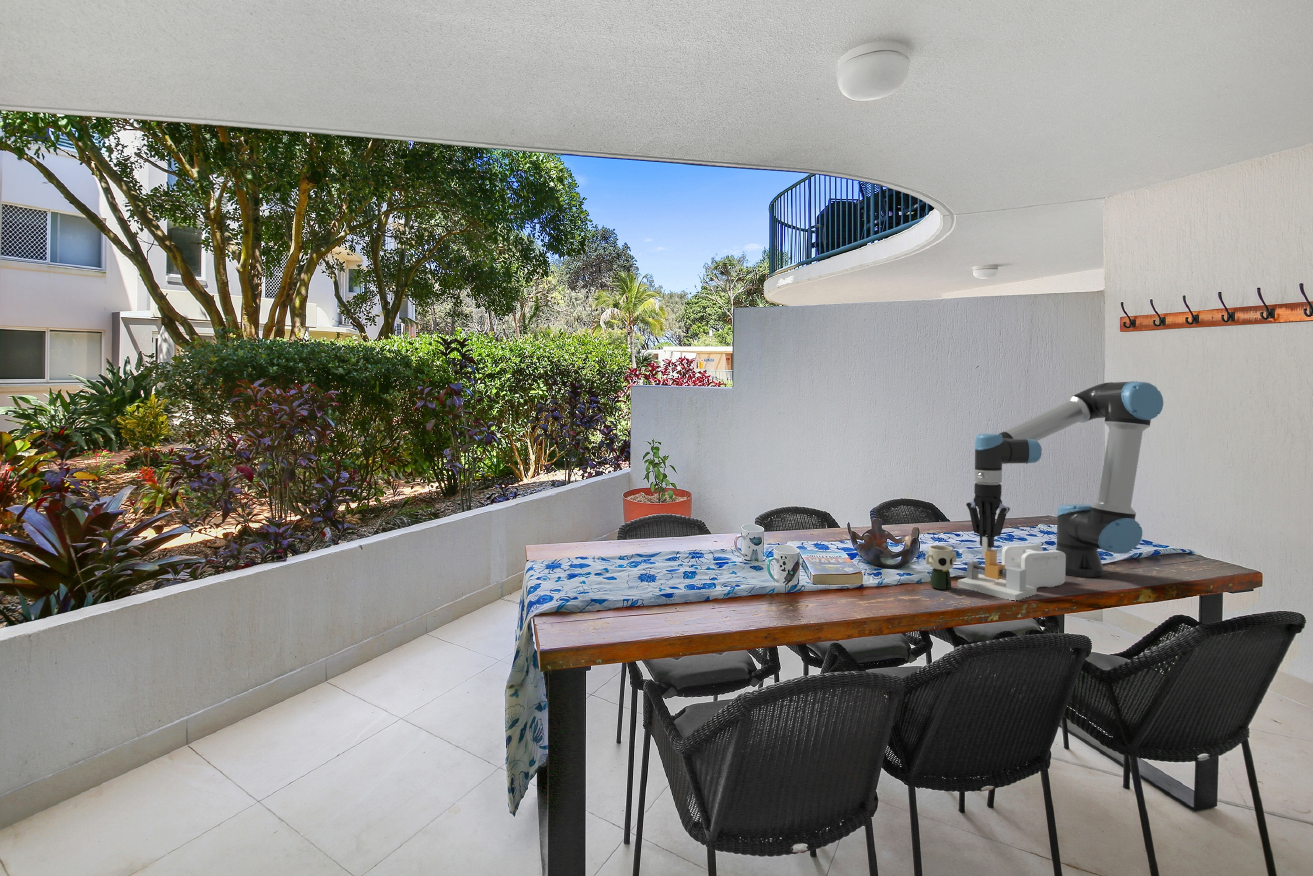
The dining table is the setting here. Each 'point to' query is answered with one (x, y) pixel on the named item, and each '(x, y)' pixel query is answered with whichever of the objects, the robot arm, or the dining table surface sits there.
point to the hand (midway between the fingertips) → (986, 556)
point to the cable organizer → (1036, 564)
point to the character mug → (940, 565)
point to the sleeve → (992, 565)
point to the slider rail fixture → (998, 582)
